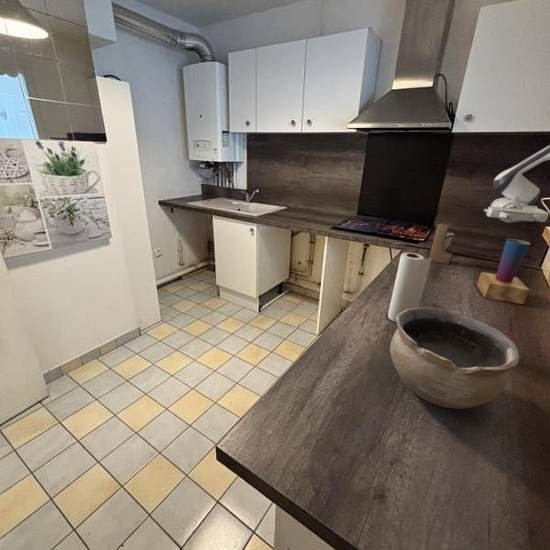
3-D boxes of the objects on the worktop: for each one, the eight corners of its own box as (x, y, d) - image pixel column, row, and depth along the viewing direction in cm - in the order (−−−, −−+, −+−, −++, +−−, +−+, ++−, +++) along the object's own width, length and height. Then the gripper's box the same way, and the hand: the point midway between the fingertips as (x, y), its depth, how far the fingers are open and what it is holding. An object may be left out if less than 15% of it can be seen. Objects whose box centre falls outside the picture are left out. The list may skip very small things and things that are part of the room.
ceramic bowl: (371, 395, 63) (383, 337, 57) (395, 345, 79) (406, 296, 73) (495, 451, 52) (527, 387, 46) (492, 379, 68) (515, 325, 62)
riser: (511, 291, 114) (517, 277, 112) (523, 304, 104) (529, 289, 102) (476, 285, 118) (481, 272, 116) (484, 298, 108) (489, 283, 105)
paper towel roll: (383, 317, 92) (397, 254, 84) (393, 311, 96) (407, 250, 88) (405, 327, 87) (422, 261, 79) (415, 321, 91) (431, 257, 83)
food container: (437, 248, 164) (442, 230, 160) (449, 251, 159) (454, 233, 155) (427, 252, 156) (432, 234, 152) (439, 255, 152) (444, 236, 148)
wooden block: (449, 262, 142) (460, 226, 135) (448, 265, 139) (459, 228, 132) (430, 258, 147) (439, 223, 140) (428, 260, 144) (437, 225, 137)
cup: (513, 279, 110) (528, 241, 104) (516, 285, 105) (532, 245, 99) (491, 275, 113) (505, 237, 107) (493, 281, 108) (507, 242, 102)
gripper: (484, 202, 128) (494, 206, 116) (541, 206, 122) (557, 211, 110) (480, 216, 131) (488, 222, 119) (535, 221, 124) (550, 228, 112)
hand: (522, 217), depth 114 cm, fingers open, 8 cm apart
